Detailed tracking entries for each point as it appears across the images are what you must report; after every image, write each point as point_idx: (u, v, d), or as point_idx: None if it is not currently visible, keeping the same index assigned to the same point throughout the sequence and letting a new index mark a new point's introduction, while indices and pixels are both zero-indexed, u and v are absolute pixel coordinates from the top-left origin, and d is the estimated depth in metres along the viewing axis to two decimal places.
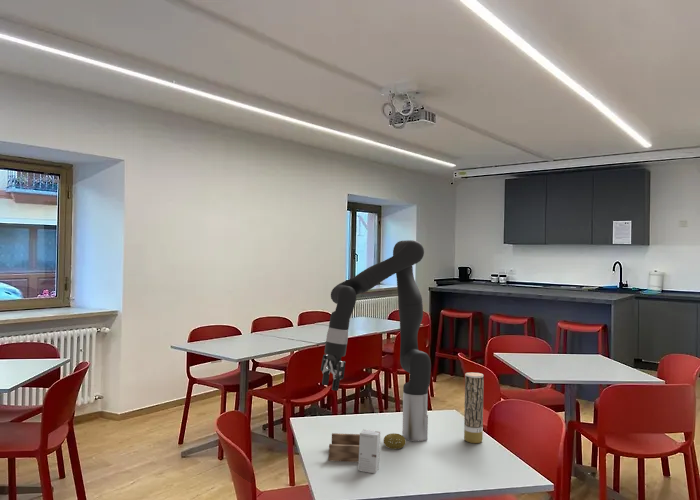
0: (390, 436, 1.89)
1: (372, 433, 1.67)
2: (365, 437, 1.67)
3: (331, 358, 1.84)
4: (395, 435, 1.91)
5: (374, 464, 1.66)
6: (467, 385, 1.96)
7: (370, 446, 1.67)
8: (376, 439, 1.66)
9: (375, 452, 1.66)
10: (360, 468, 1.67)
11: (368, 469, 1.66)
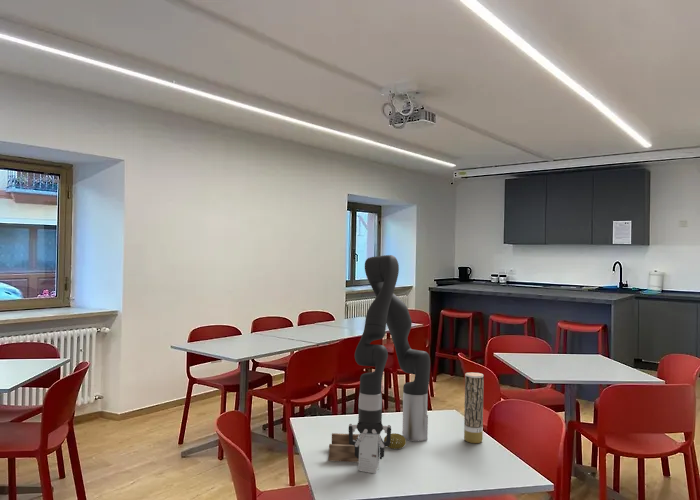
0: None
1: (372, 433, 1.67)
2: (365, 437, 1.67)
3: (370, 426, 1.68)
4: (395, 435, 1.91)
5: (374, 464, 1.66)
6: (467, 385, 1.96)
7: (370, 446, 1.67)
8: (376, 439, 1.66)
9: (375, 452, 1.66)
10: (360, 468, 1.67)
11: (368, 469, 1.66)
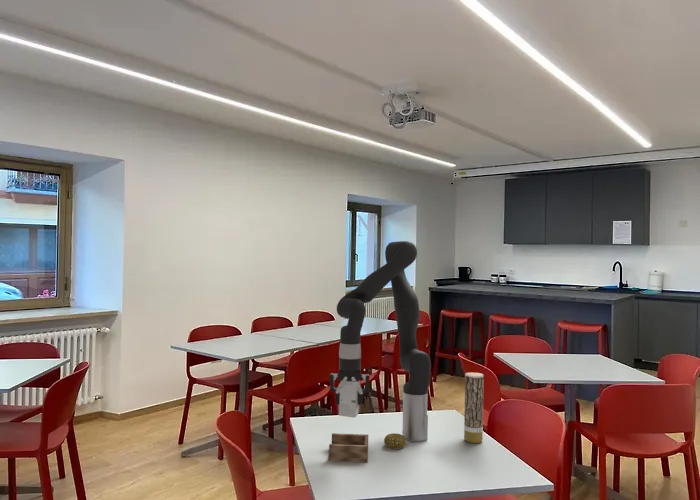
0: (391, 436, 1.89)
1: (351, 381, 1.80)
2: (345, 384, 1.80)
3: (350, 374, 1.80)
4: (396, 435, 1.91)
5: (353, 409, 1.78)
6: (467, 385, 1.96)
7: (350, 393, 1.79)
8: (355, 386, 1.79)
9: (354, 398, 1.78)
10: (341, 413, 1.80)
11: (348, 414, 1.79)
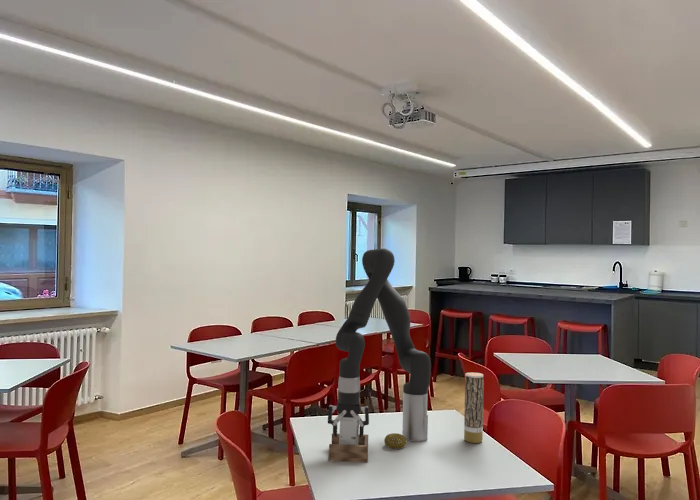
0: (391, 436, 1.89)
1: (351, 417, 1.80)
2: (345, 421, 1.80)
3: (349, 407, 1.80)
4: (396, 435, 1.91)
5: None
6: (467, 385, 1.96)
7: (350, 429, 1.79)
8: (355, 422, 1.79)
9: (354, 434, 1.78)
10: None
11: None
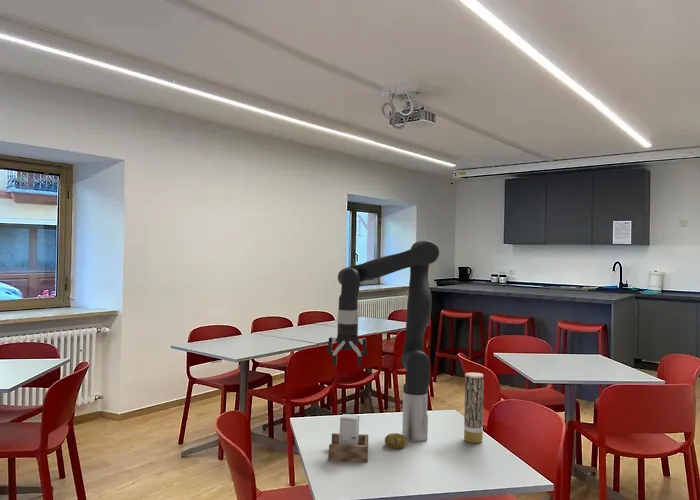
0: (391, 436, 1.89)
1: (351, 417, 1.80)
2: (345, 421, 1.80)
3: (347, 338, 1.92)
4: (396, 435, 1.91)
5: None
6: (467, 385, 1.96)
7: (350, 429, 1.79)
8: (355, 422, 1.79)
9: (354, 434, 1.78)
10: None
11: None
